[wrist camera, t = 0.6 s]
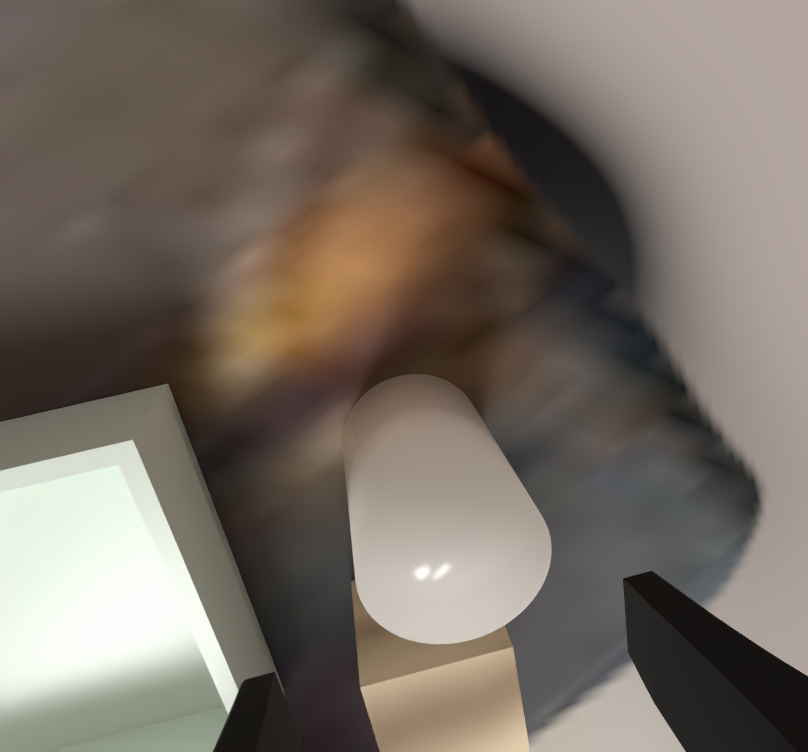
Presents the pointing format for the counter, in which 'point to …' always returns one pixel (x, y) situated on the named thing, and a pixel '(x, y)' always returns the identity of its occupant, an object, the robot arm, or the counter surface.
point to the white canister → (437, 515)
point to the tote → (116, 585)
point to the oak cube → (439, 691)
